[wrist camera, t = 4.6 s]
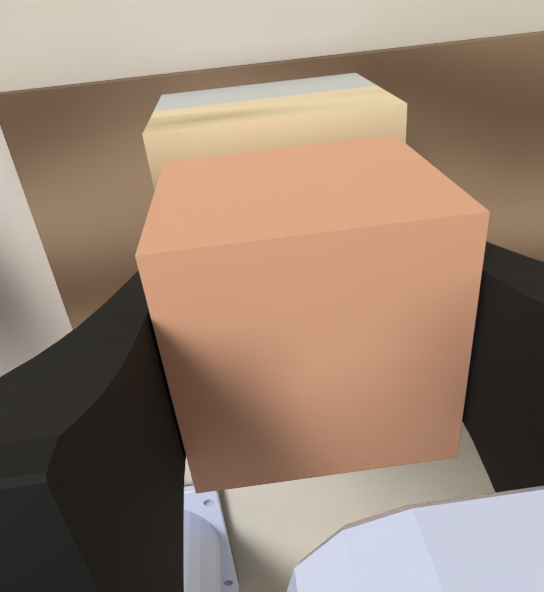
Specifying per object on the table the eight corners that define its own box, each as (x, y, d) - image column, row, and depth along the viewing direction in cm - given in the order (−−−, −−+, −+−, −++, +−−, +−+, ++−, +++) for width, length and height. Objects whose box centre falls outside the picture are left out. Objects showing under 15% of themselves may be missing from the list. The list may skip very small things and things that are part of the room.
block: (389, 325, 14) (457, 456, 10) (201, 350, 14) (196, 493, 10) (395, 134, 11) (490, 211, 7) (163, 162, 11) (134, 256, 7)
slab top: (374, 280, 17) (398, 322, 15) (192, 303, 17) (189, 349, 15) (377, 85, 14) (407, 103, 12) (153, 111, 14) (141, 134, 11)
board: (543, 380, 24) (550, 389, 24) (117, 439, 24) (115, 449, 23) (628, 21, 17) (641, 22, 16) (-3, 92, 16) (-10, 96, 15)
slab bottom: (356, 247, 19) (374, 280, 17) (195, 267, 19) (192, 303, 17) (355, 72, 16) (377, 85, 14) (161, 94, 16) (153, 111, 14)
